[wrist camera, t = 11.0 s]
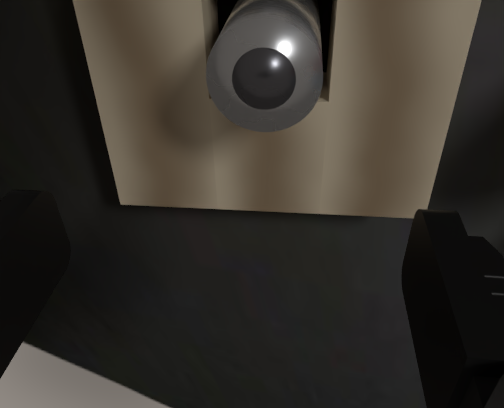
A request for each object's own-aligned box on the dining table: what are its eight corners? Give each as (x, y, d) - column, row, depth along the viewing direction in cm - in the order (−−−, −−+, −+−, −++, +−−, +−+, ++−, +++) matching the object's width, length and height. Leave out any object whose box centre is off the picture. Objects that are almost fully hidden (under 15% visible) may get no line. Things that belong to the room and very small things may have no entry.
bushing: (322, -30, 23) (327, 19, 16) (316, 57, 26) (319, 134, 18) (234, -30, 23) (200, 18, 16) (237, 56, 26) (209, 131, 19)
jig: (469, -73, 21) (497, -62, 18) (412, 180, 30) (424, 218, 26) (94, -69, 23) (59, -58, 20) (140, 169, 31) (120, 204, 28)
